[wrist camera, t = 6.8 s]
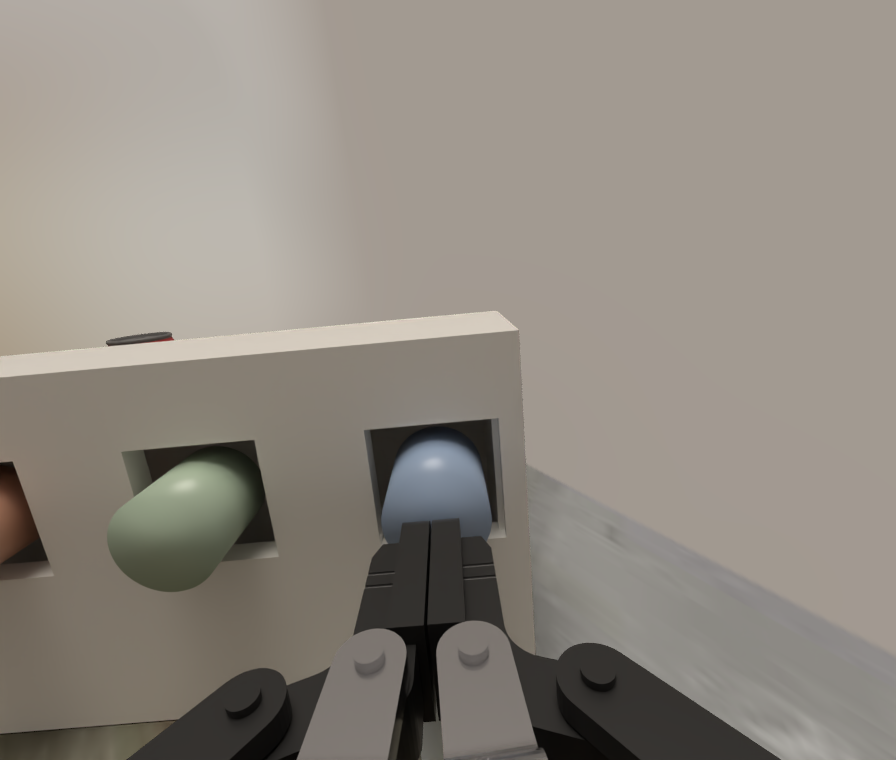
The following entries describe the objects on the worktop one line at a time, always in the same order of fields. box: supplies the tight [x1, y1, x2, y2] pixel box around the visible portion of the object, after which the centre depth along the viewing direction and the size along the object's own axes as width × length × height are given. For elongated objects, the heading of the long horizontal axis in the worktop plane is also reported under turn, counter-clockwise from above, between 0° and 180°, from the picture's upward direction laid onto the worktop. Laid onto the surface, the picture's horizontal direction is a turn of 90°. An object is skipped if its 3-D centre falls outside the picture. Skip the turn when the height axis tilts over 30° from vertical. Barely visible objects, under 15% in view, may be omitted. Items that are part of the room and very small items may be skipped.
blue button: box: [381, 426, 492, 544], centre depth 15 cm, size 3×4×3 cm
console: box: [0, 311, 536, 734], centre depth 19 cm, size 22×6×14 cm, turn 91°
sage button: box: [107, 446, 266, 592], centre depth 15 cm, size 3×4×3 cm
